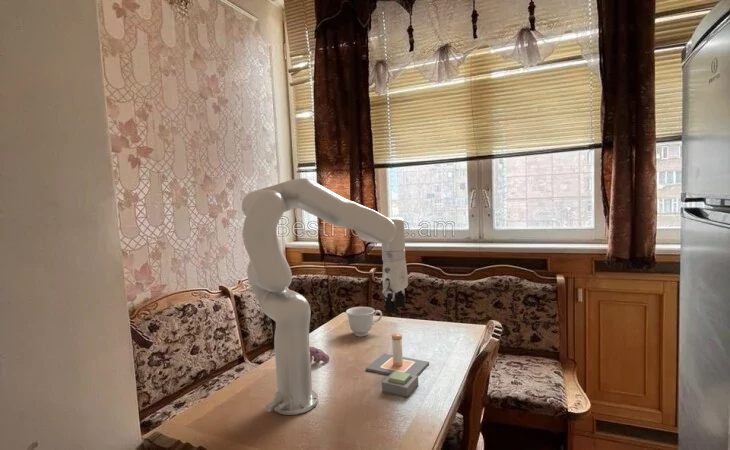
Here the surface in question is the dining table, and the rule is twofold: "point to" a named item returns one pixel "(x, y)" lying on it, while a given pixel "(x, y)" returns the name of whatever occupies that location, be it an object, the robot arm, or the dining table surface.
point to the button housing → (400, 387)
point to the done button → (400, 377)
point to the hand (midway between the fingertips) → (395, 309)
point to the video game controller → (318, 355)
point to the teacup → (362, 319)
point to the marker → (397, 349)
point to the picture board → (386, 367)
